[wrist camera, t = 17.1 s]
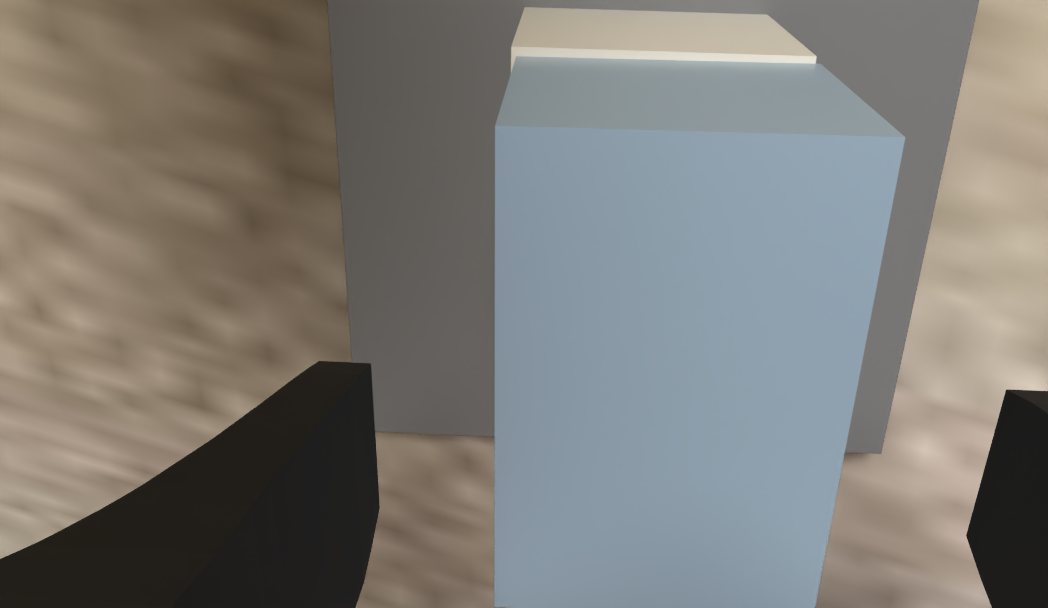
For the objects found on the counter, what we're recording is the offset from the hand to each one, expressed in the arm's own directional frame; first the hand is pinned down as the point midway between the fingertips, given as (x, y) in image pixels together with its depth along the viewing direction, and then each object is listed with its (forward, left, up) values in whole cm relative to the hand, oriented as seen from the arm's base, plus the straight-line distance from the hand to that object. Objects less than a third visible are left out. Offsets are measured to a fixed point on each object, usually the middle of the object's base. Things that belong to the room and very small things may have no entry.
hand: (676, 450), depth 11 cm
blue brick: (0, 0, -5) cm, 5 cm away
